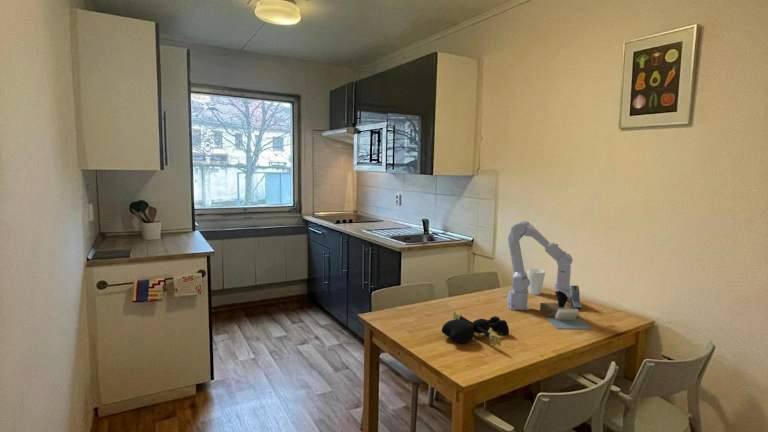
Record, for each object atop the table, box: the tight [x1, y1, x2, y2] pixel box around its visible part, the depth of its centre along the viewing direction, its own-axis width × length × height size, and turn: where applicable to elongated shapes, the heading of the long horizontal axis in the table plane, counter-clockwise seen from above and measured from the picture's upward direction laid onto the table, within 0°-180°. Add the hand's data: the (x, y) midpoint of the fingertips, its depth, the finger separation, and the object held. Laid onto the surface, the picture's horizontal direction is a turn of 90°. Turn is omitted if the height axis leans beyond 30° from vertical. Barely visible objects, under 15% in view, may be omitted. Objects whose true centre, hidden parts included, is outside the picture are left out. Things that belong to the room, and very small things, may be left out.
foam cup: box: [526, 268, 546, 296], centre depth 243 cm, size 10×9×13 cm
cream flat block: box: [555, 309, 580, 320], centre depth 201 cm, size 9×6×2 cm
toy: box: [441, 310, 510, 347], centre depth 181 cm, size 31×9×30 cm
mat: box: [545, 317, 594, 330], centre depth 198 cm, size 16×13×1 cm
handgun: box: [567, 284, 583, 310], centre depth 226 cm, size 4×18×12 cm, turn 179°
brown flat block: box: [539, 302, 578, 318], centre depth 210 cm, size 14×10×4 cm
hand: (561, 306), depth 206 cm, fingers closed
